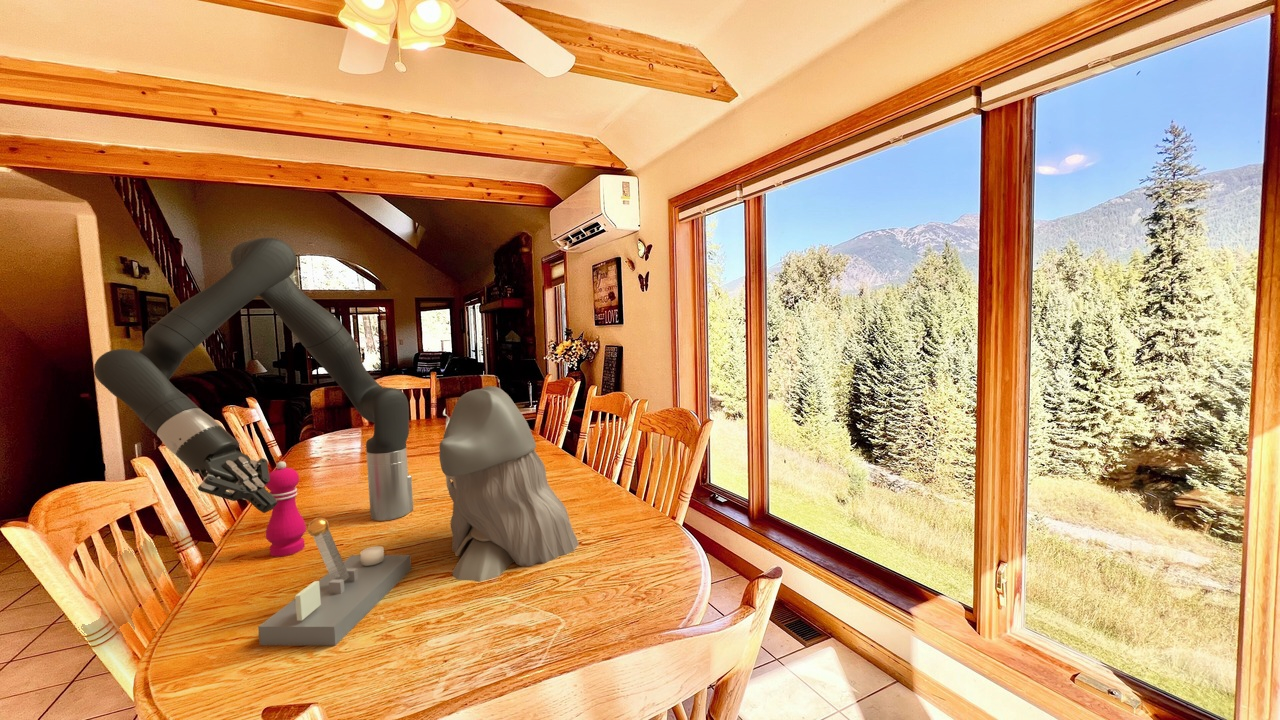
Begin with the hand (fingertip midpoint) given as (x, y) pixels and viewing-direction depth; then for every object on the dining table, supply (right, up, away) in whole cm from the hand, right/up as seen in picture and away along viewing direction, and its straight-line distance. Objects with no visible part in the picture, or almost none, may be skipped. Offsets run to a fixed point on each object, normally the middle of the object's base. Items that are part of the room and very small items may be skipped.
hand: (271, 508), depth 89 cm
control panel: (+13, -17, +1) cm, 21 cm away
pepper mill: (-13, -16, +23) cm, 31 cm away
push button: (+13, -13, +10) cm, 21 cm away
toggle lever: (+12, -14, +1) cm, 19 cm away
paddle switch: (+12, -15, -8) cm, 21 cm away
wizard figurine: (+35, -15, +24) cm, 45 cm away
